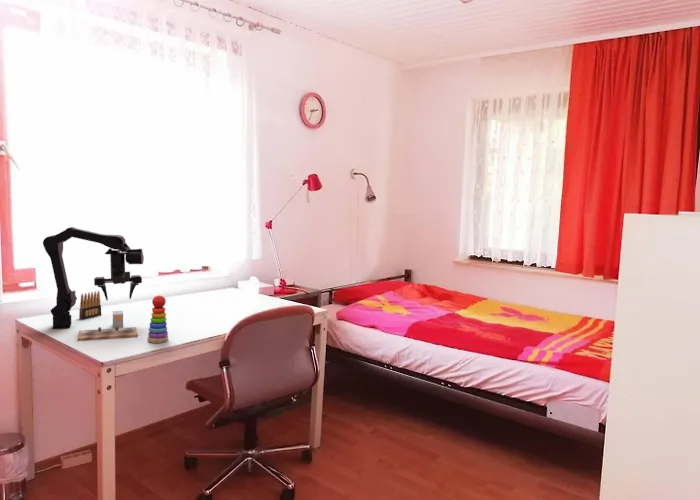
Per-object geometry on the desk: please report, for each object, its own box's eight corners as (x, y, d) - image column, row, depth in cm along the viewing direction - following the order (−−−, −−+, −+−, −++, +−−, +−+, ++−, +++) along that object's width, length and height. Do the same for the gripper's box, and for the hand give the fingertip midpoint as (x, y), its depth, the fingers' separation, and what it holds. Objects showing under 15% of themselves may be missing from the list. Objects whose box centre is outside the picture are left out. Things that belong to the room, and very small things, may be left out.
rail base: (77, 340, 204) (77, 333, 204) (78, 332, 215) (78, 325, 214) (137, 336, 214) (138, 329, 213) (136, 329, 224) (136, 322, 224)
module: (113, 328, 223) (113, 314, 223) (112, 324, 230) (112, 311, 229) (123, 328, 225) (123, 314, 224) (122, 324, 231) (122, 310, 231)
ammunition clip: (98, 314, 246) (98, 290, 244) (101, 315, 245) (101, 290, 244) (79, 319, 236) (79, 293, 235) (82, 319, 235) (81, 294, 234)
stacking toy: (143, 342, 206) (143, 296, 204) (154, 337, 214) (154, 292, 212) (161, 344, 205) (162, 298, 203) (171, 339, 213) (172, 294, 211)
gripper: (94, 268, 213) (95, 305, 215) (142, 265, 221) (143, 301, 223) (93, 264, 223) (94, 299, 224) (140, 262, 231) (140, 296, 233)
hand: (118, 299), depth 226 cm, fingers open, 9 cm apart
